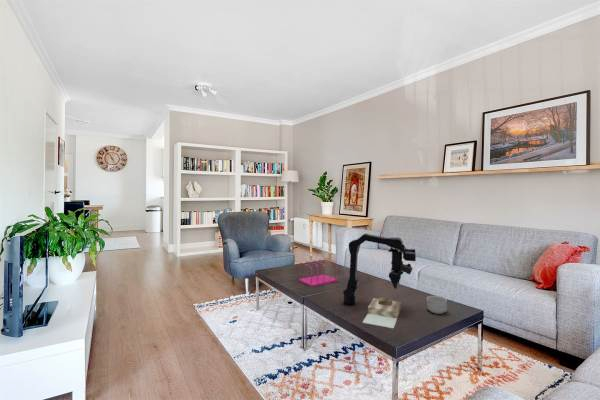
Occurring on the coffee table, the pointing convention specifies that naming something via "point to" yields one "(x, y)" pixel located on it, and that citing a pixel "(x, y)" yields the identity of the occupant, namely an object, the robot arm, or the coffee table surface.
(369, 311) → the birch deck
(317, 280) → the file sorter
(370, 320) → the sage mat
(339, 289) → the coffee table surface
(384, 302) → the walnut tile
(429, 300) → the teacup
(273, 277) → the coffee table surface
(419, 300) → the coffee table surface
